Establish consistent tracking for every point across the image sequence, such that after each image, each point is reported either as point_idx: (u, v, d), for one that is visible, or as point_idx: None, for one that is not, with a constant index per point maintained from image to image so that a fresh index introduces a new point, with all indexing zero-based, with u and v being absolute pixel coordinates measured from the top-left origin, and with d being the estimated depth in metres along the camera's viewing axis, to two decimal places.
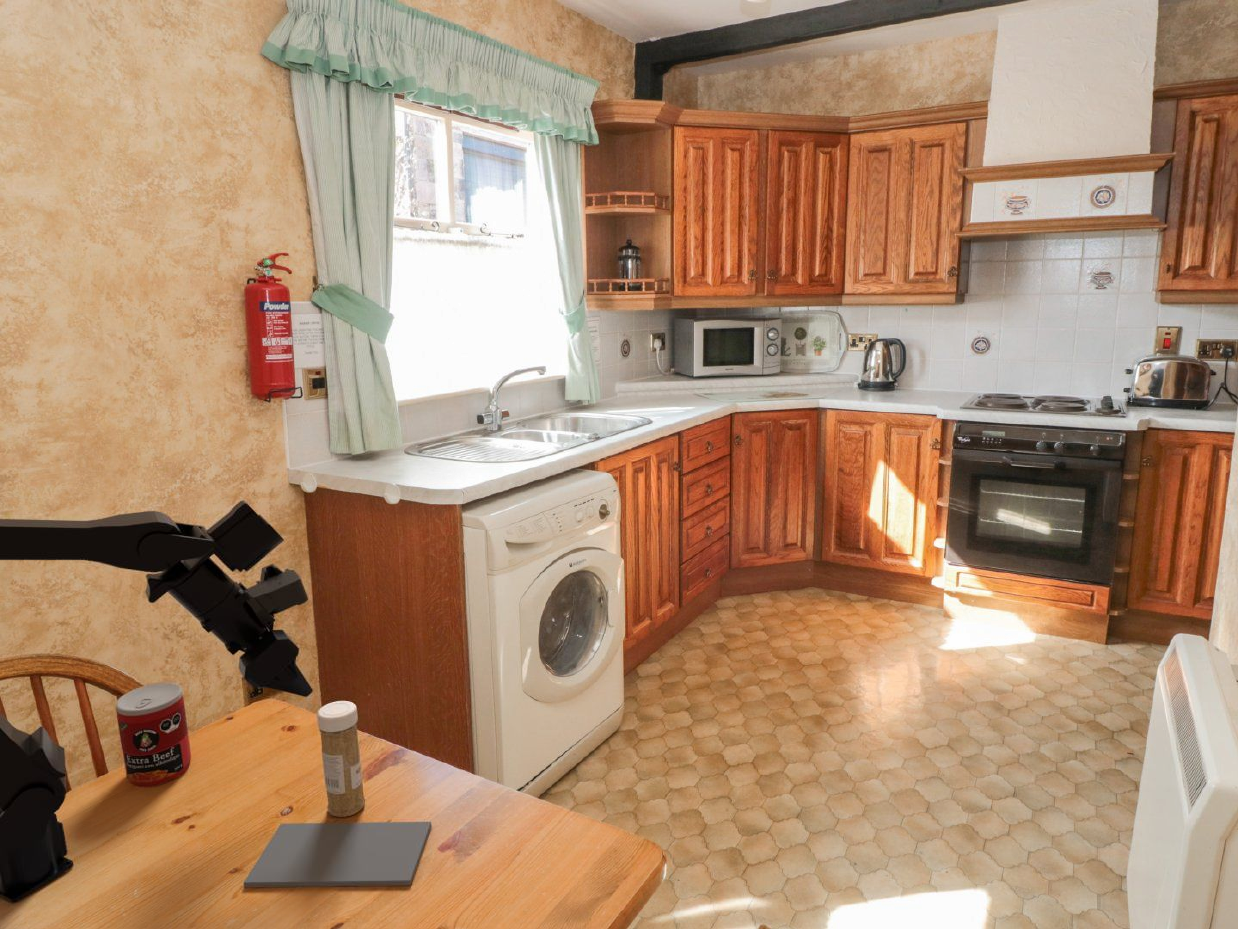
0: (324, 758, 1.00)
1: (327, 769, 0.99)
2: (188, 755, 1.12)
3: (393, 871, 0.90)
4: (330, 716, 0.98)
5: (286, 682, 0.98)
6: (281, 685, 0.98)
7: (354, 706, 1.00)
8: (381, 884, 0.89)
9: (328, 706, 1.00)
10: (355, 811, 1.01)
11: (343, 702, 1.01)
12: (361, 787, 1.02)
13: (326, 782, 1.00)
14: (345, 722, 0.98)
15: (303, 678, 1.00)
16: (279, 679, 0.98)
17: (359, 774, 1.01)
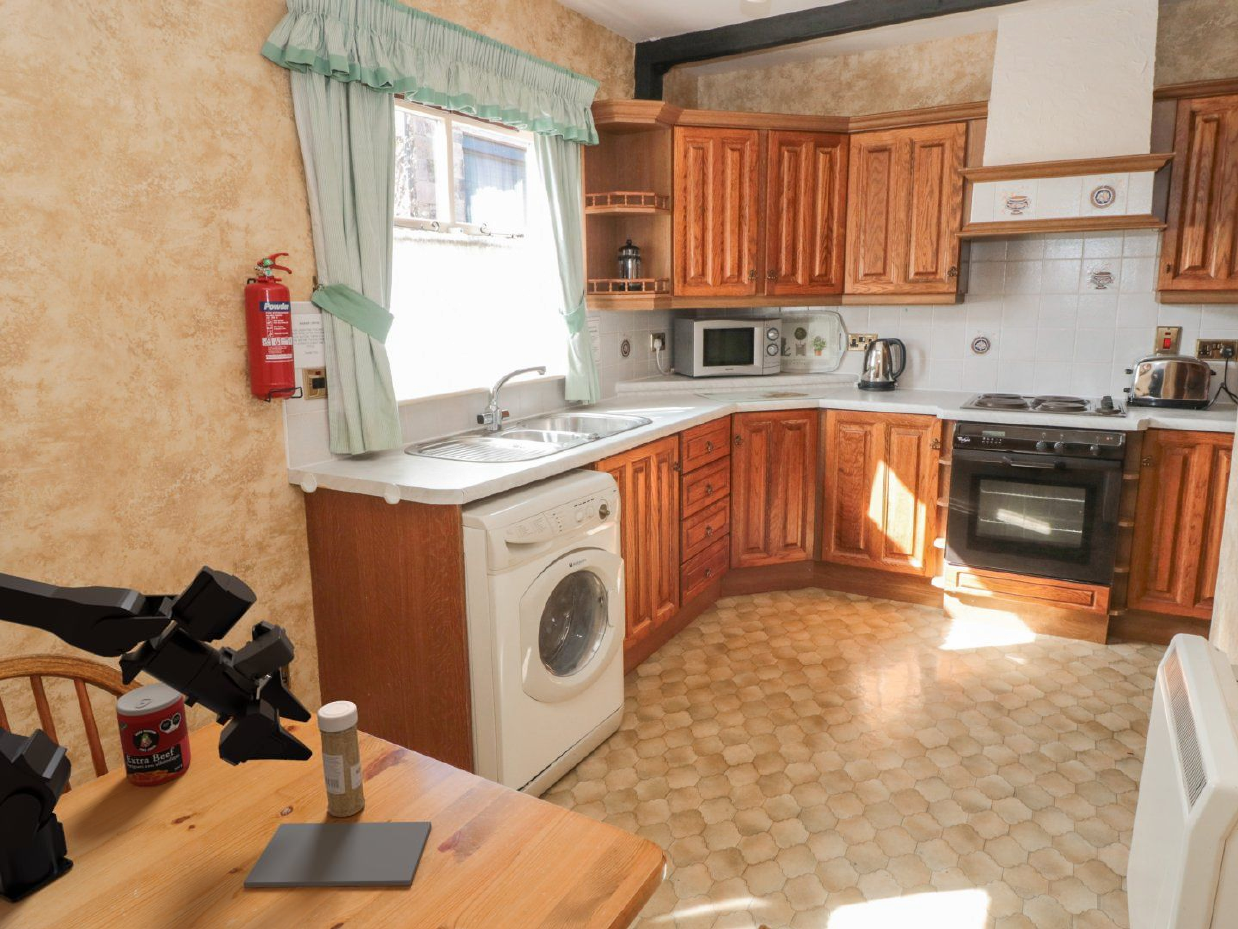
0: (324, 758, 1.00)
1: (327, 769, 0.99)
2: (188, 755, 1.12)
3: (393, 871, 0.90)
4: (330, 716, 0.98)
5: (277, 750, 0.92)
6: (272, 754, 0.92)
7: (354, 706, 1.00)
8: (381, 884, 0.89)
9: (328, 706, 1.00)
10: (355, 811, 1.01)
11: (343, 702, 1.01)
12: (361, 787, 1.02)
13: (326, 782, 1.00)
14: (345, 722, 0.98)
15: (296, 744, 0.93)
16: (268, 749, 0.92)
17: (359, 774, 1.01)
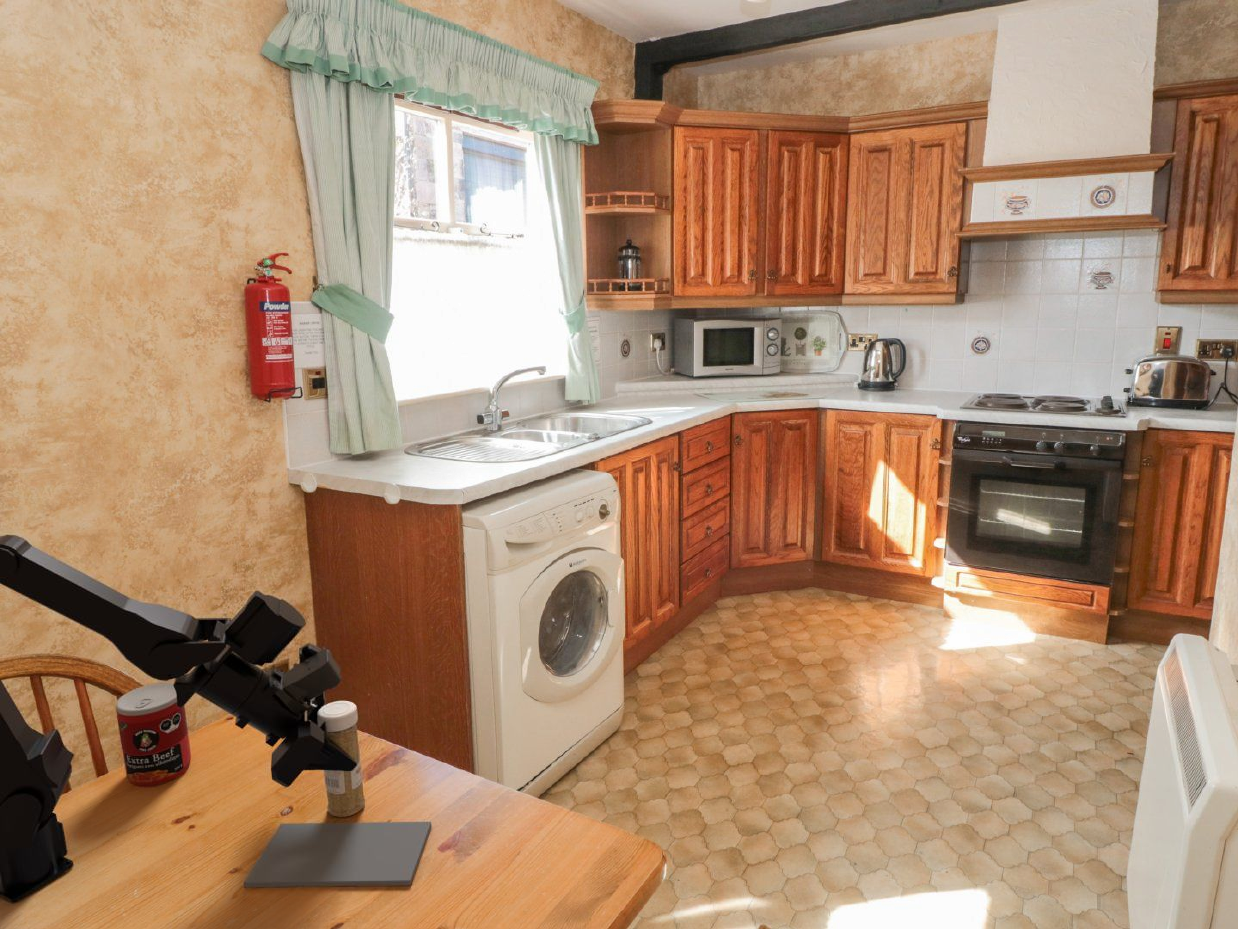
0: None
1: None
2: (188, 755, 1.12)
3: (393, 871, 0.90)
4: (330, 716, 0.98)
5: (325, 761, 0.97)
6: (320, 765, 0.97)
7: (354, 706, 1.00)
8: (381, 884, 0.89)
9: (328, 706, 1.00)
10: (355, 811, 1.01)
11: (343, 702, 1.01)
12: (361, 787, 1.02)
13: (326, 782, 1.00)
14: (345, 722, 0.98)
15: (342, 755, 0.98)
16: (316, 760, 0.96)
17: (359, 774, 1.01)
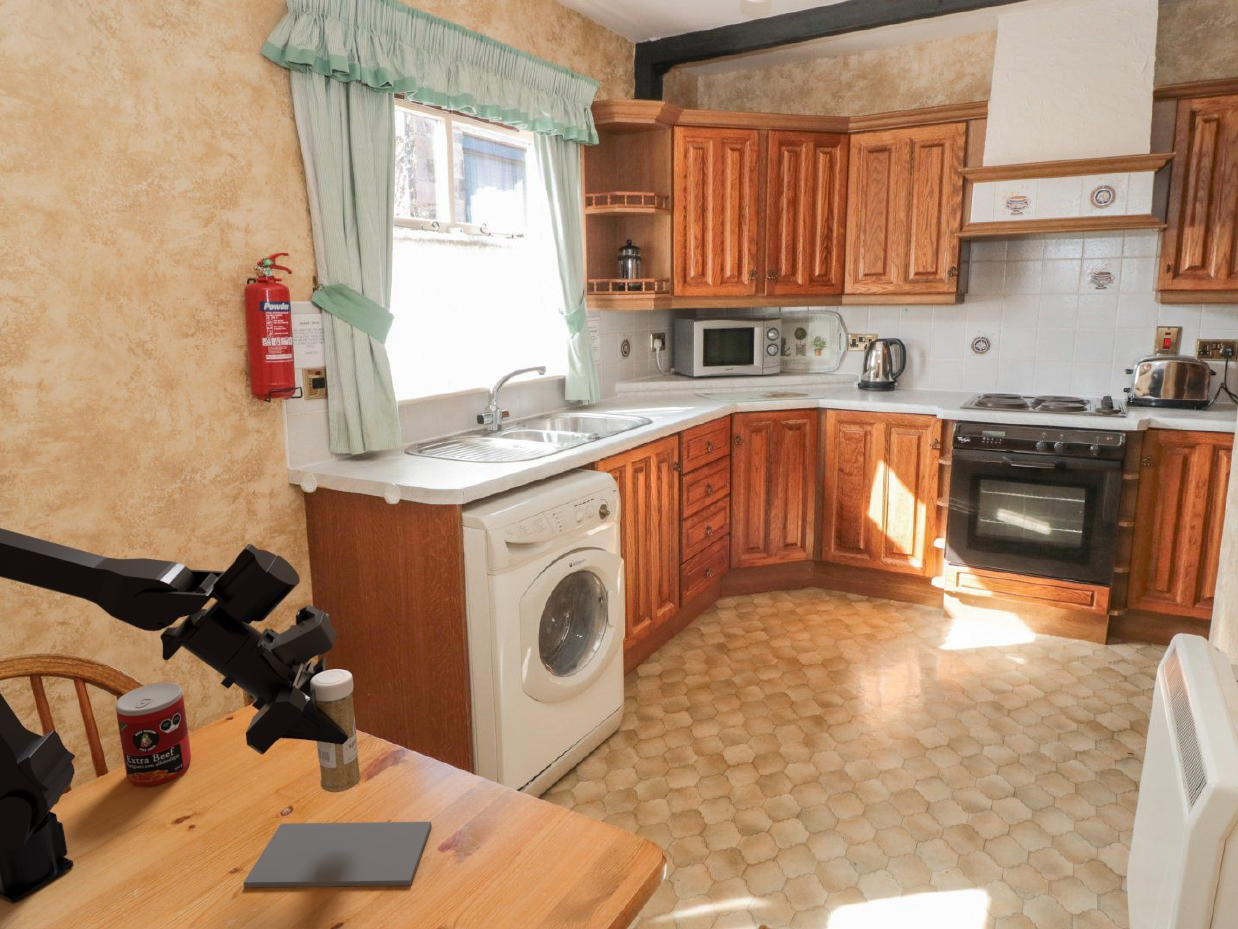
0: None
1: None
2: (188, 755, 1.12)
3: (393, 871, 0.90)
4: (321, 684, 0.92)
5: (312, 731, 0.91)
6: (306, 735, 0.90)
7: (349, 676, 0.94)
8: (381, 884, 0.89)
9: (323, 673, 0.94)
10: (347, 787, 0.95)
11: (340, 670, 0.95)
12: (356, 763, 0.96)
13: (318, 754, 0.94)
14: (336, 692, 0.92)
15: (331, 726, 0.91)
16: (303, 728, 0.90)
17: (352, 749, 0.95)
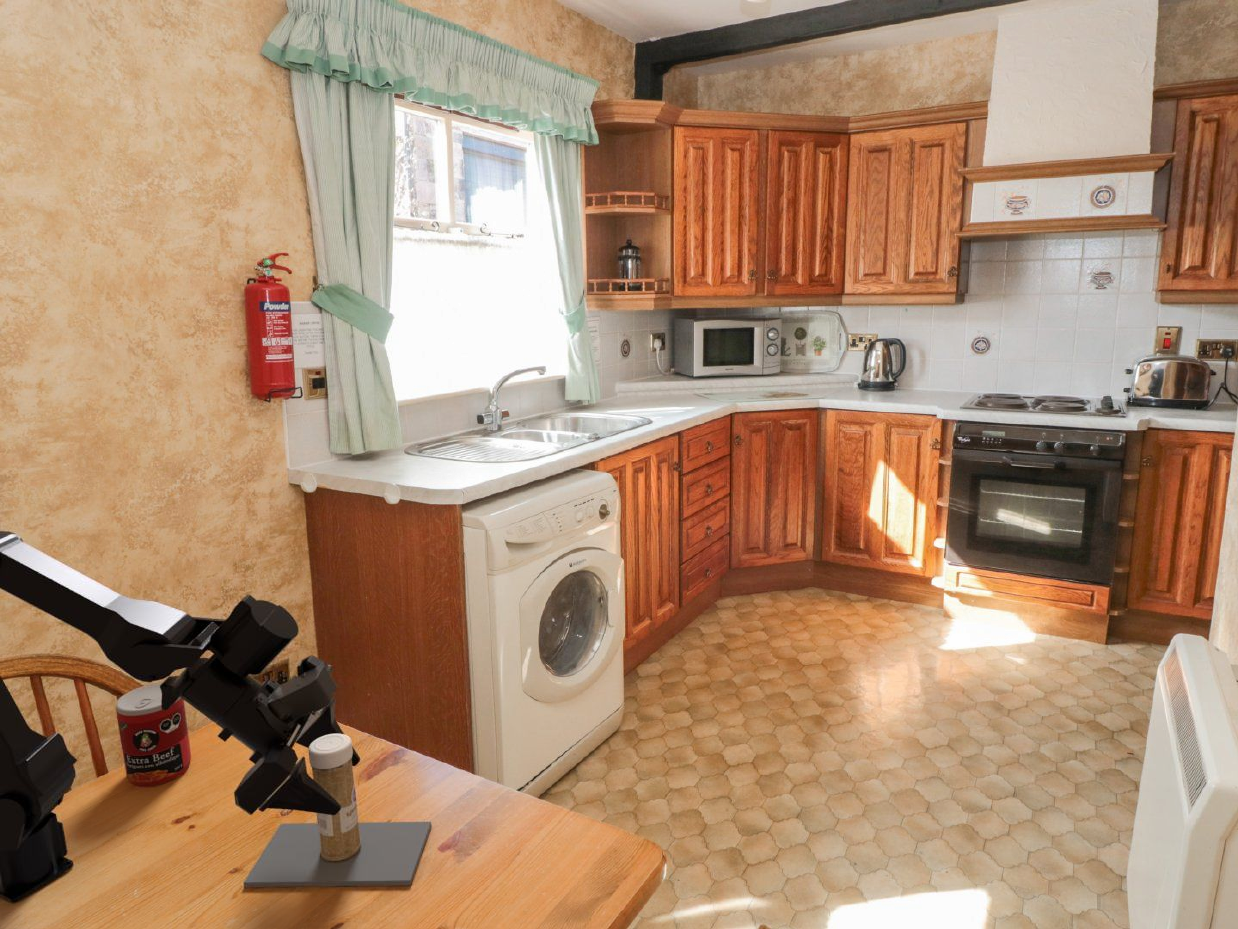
0: None
1: None
2: (188, 755, 1.12)
3: (393, 871, 0.90)
4: (318, 751, 0.90)
5: (302, 801, 0.86)
6: (295, 805, 0.86)
7: (348, 742, 0.91)
8: (381, 884, 0.89)
9: (323, 738, 0.92)
10: (345, 857, 0.92)
11: (340, 736, 0.93)
12: (355, 831, 0.93)
13: (317, 820, 0.92)
14: (332, 760, 0.89)
15: (322, 797, 0.86)
16: (292, 798, 0.86)
17: (351, 817, 0.92)
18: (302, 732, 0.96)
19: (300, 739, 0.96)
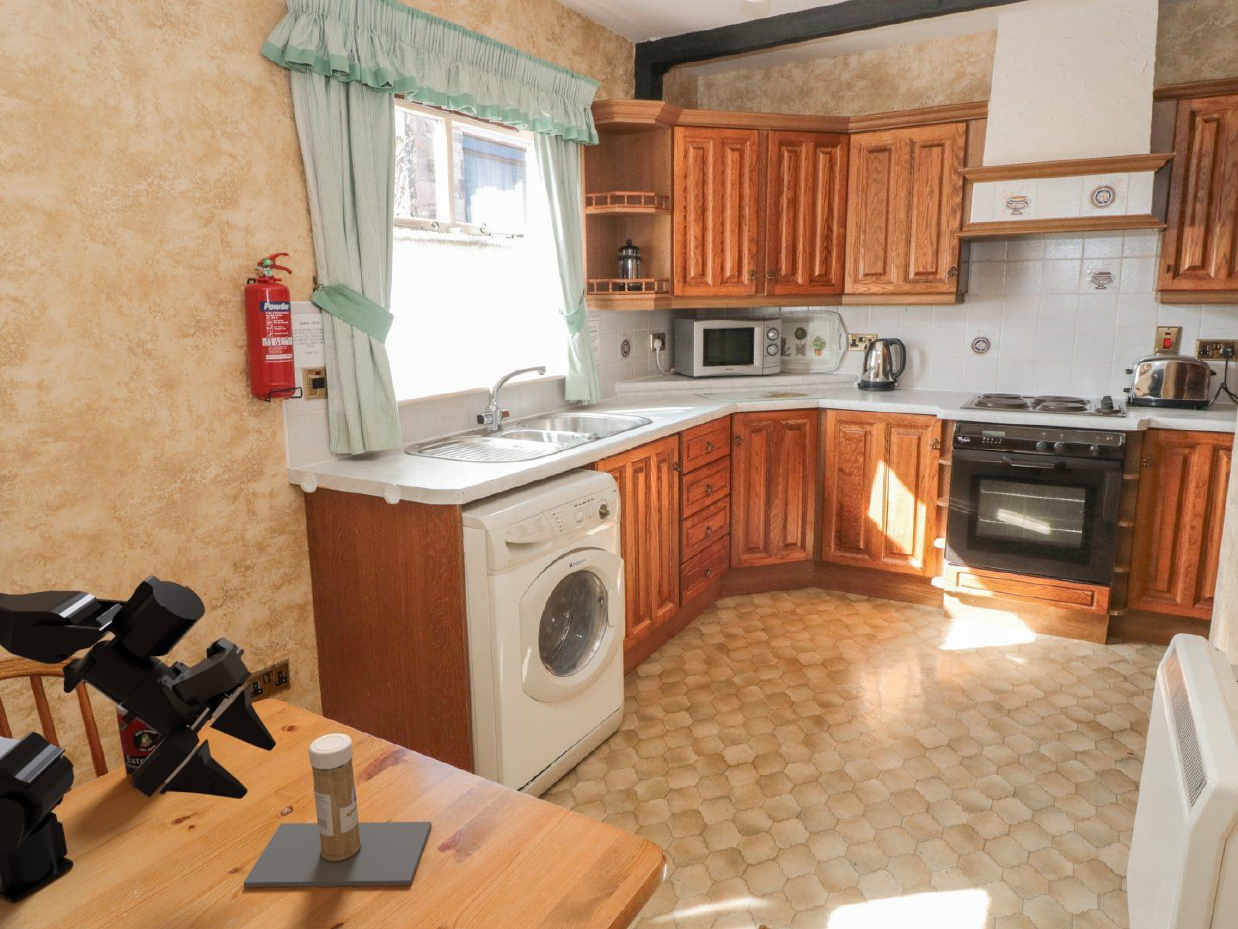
0: None
1: (317, 807, 0.91)
2: None
3: (393, 871, 0.90)
4: (318, 751, 0.90)
5: (205, 785, 0.85)
6: (199, 788, 0.84)
7: (348, 742, 0.91)
8: (381, 884, 0.89)
9: (324, 738, 0.92)
10: (345, 857, 0.92)
11: (341, 736, 0.93)
12: (355, 831, 0.93)
13: (317, 820, 0.92)
14: (333, 760, 0.89)
15: (226, 780, 0.85)
16: (195, 781, 0.84)
17: (351, 817, 0.92)
18: (216, 716, 0.95)
19: (214, 723, 0.95)
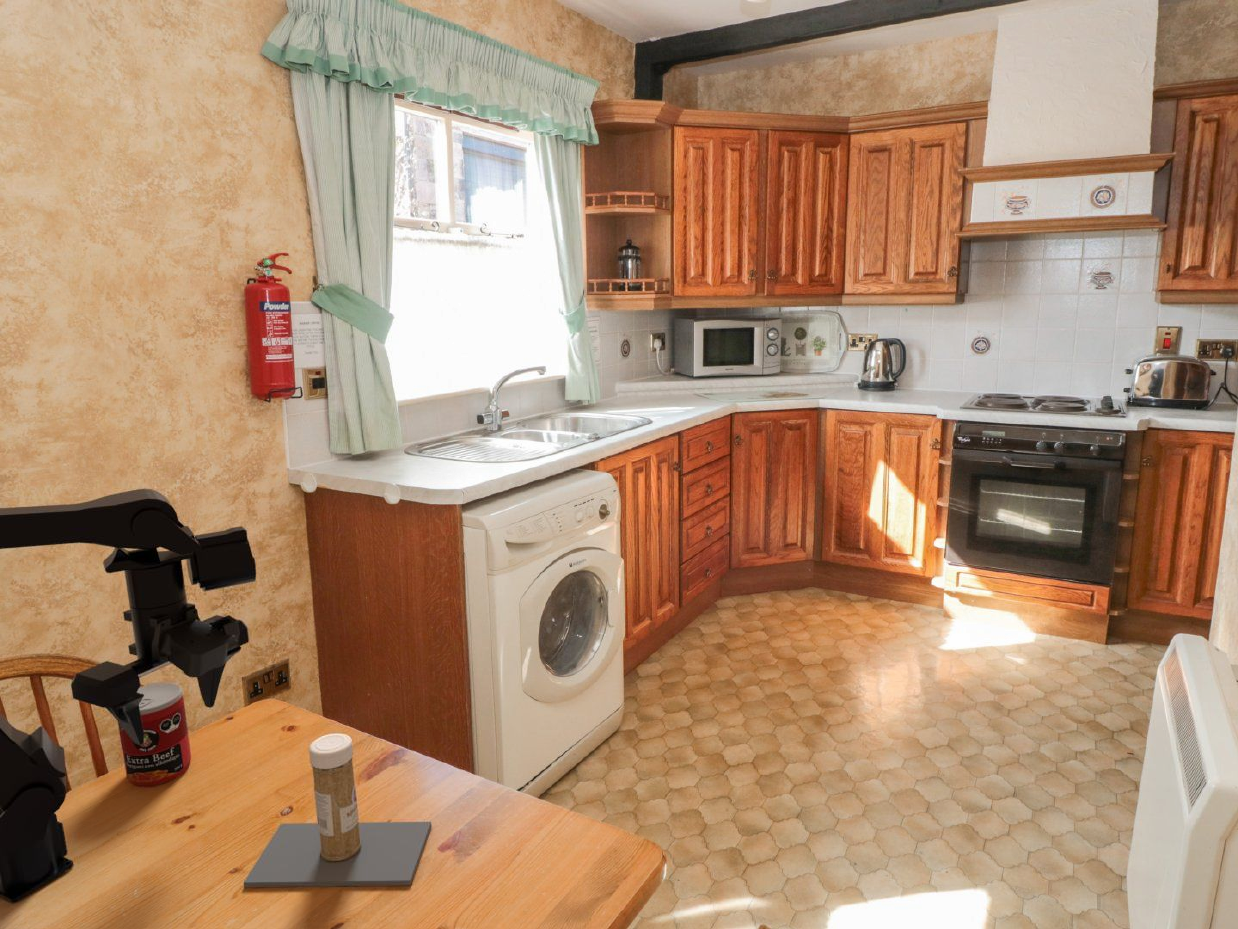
0: (315, 794, 0.91)
1: (317, 807, 0.91)
2: (188, 755, 1.12)
3: (393, 871, 0.90)
4: (318, 751, 0.90)
5: (120, 716, 0.92)
6: (114, 714, 0.92)
7: (349, 742, 0.91)
8: (381, 884, 0.89)
9: (324, 738, 0.92)
10: (345, 857, 0.92)
11: (341, 736, 0.93)
12: (355, 831, 0.93)
13: None
14: (333, 760, 0.89)
15: (133, 728, 0.92)
16: (116, 708, 0.92)
17: (351, 817, 0.92)
18: None
19: None
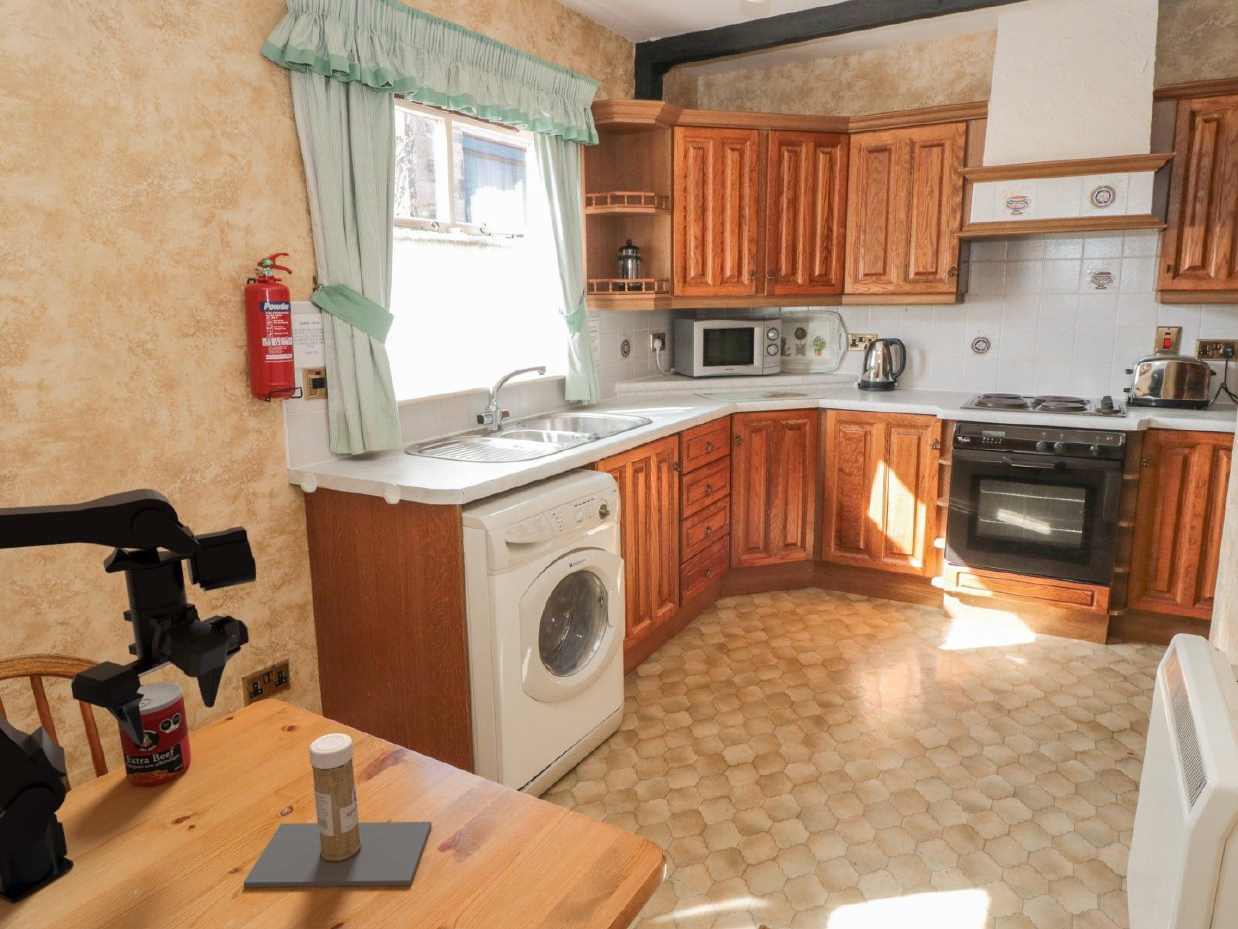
0: (315, 794, 0.91)
1: (317, 807, 0.91)
2: (188, 755, 1.12)
3: (393, 871, 0.90)
4: (319, 751, 0.90)
5: (120, 716, 0.92)
6: (114, 714, 0.92)
7: (349, 742, 0.91)
8: (381, 884, 0.89)
9: (324, 738, 0.92)
10: (345, 857, 0.92)
11: (341, 735, 0.93)
12: (355, 831, 0.93)
13: None
14: (333, 760, 0.89)
15: (133, 728, 0.92)
16: (116, 708, 0.92)
17: (351, 817, 0.92)
18: None
19: None
